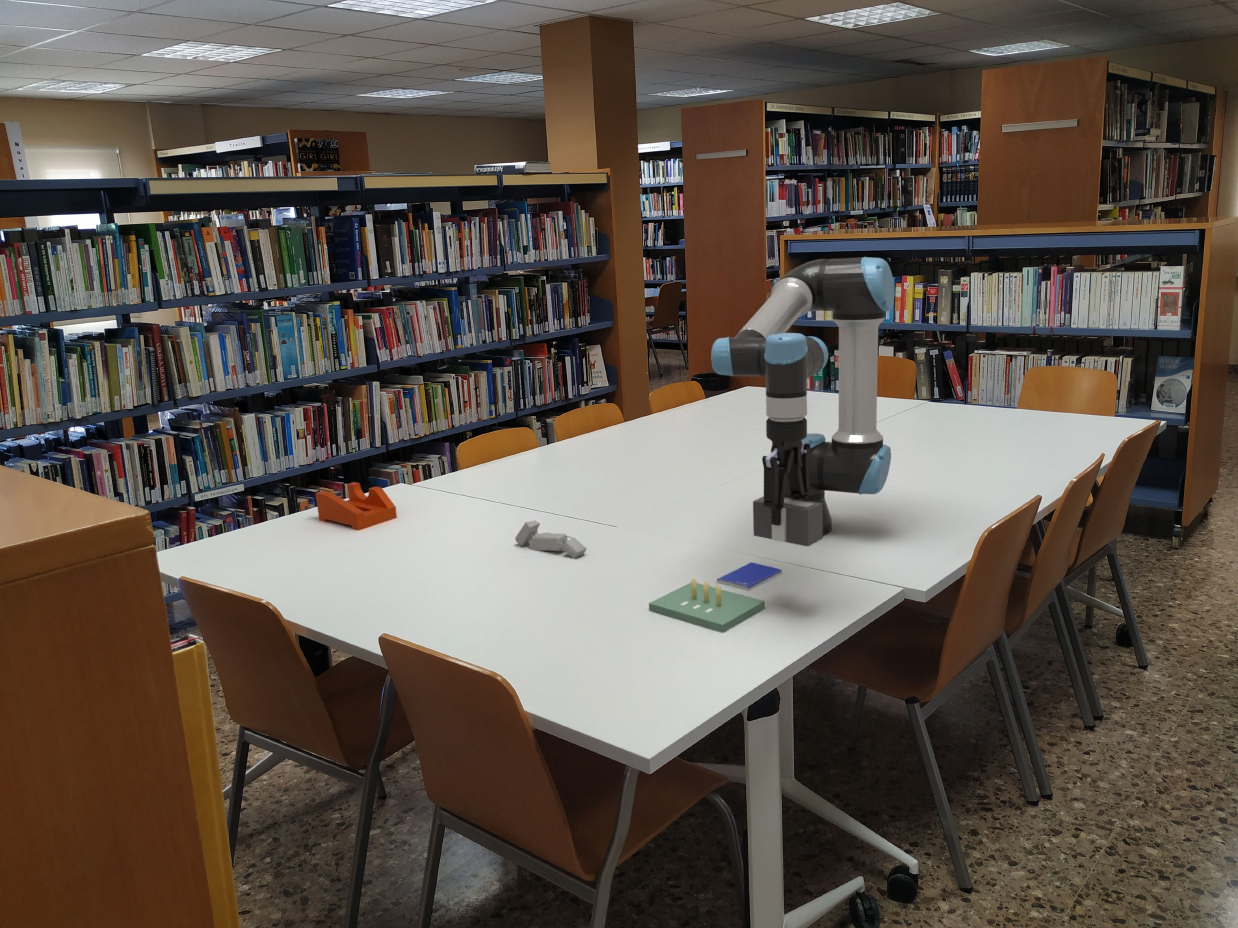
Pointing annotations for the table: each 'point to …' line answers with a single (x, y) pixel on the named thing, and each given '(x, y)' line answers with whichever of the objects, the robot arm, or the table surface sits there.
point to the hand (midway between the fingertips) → (787, 535)
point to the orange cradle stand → (356, 507)
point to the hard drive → (749, 576)
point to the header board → (707, 606)
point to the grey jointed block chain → (548, 540)
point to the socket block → (791, 521)
